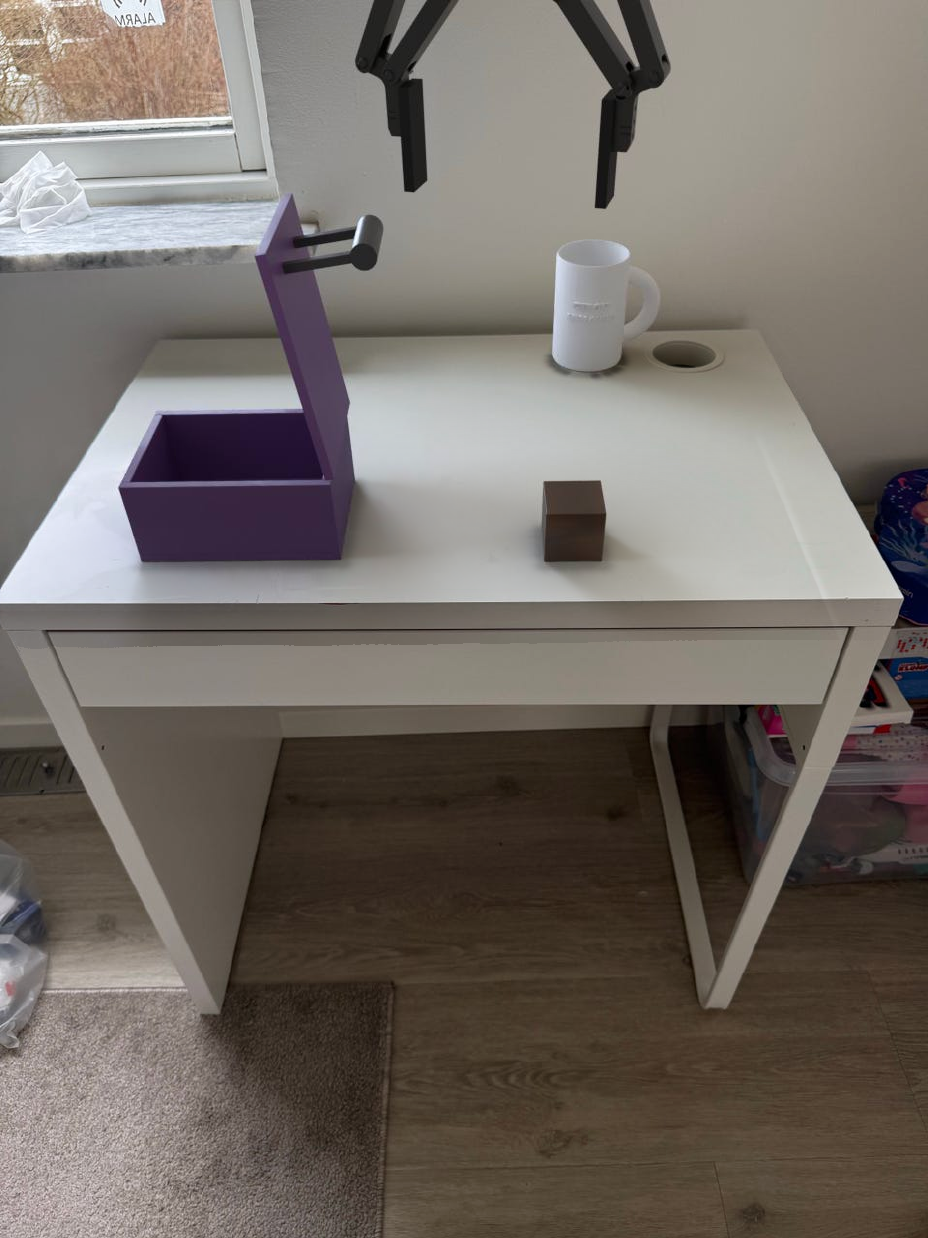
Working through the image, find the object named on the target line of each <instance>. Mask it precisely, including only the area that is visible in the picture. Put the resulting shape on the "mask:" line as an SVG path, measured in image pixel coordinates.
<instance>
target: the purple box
mask: <svg viewBox="0 0 928 1238" xmlns="http://www.w3.org/2000/svg"><path fill="white" fill-rule="evenodd" d="M352 452H353V451H352V443H351V434H350V426H349V418H348V416H347V420H346V425H345V430H344V435H343V440H342V444H341V449H340V454H339V459H338V464H337V469H336V474H335V479H334V480H326V481H325V478H324V475H323V472H322V469H321V466H320V463H319V459H318V456H317V453H316V450H315V447H314V444H313V440H312V437H311V434H310V431H309V428H308V425H307V421H306V418H305V415H304V412H303V409H302V408H262V409H261V408H257V409H255V408H253V409H194V410H193V409H192V410H190V409H189V410H188V409H186V410H184V409H183V410H181V409H180V410H156V412H155V413H154V416H153V418H152V420H151V422H150V424H149V426H148V428H147V429H146V431H145V433H144V435H143V438H142V440H141V441H140V443H139V445H138V447H137V449H136V451H135V453H134V455H133V457H132V459H131V462H130V463H129V465H128V467H127V469H126V472H125V473H124V475H123V476H122V479H121V480H120V481H121V482H120V483H119V485H118V487H117V489H118V492H119V495H120V499H121V501H122V502H121V503H122V505H123V508H124V511H125V514H126V517H127V520H128V522H129V526H130V529H131V533H132V537H133V539H134V542H135V545H136V548H137V551H138V554H139V558H140V560H141V562H217V561H218V562H219V561H220V562H223V561H226V562H230V561H231V562H232V561H234V562H235V561H314V560H316V561H317V560H322V561H323V560H324V561H325V560H327V561H328V560H333V561H334V560H341V559H342V555H343V550H344V545H345V538H346V532H347V528H348V527H347V525H348V520H349V515H350V509H351V503H352V498H353V493H354V487H355V483H356V482H355V481H356V477H355V468H354V460H353V453H352Z"/></svg>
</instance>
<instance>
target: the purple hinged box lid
mask: <svg viewBox="0 0 928 1238" xmlns="http://www.w3.org/2000/svg"><path fill="white" fill-rule="evenodd" d="M357 222H358V223H357V225H356V226H350V227H343V228H338V229H331V230H325V231H320V232H314V233H308V234H305V233H304V231H303V226H302V223H301V220H300V216H299V212H298V208H297V205H296V201H295V198H294V194H293V193H286V194H282V196H281V198H280V200H279V203H278V204H277V207H276V209H275V211H274V213H273V215H272V218H271V219H270V222H269V224H268V226H267V227H266V230H265V232H264V235H263V236H262V239H261V241H260V244H259V245H258V248H257V250H256V252H255V253H254V260H255V261H256V266H257V269H258V272H259V275H260V278H261V281H262V285H263V287H264V291H265V294H266V298H267V300H268V303H269V307H270V310H271V313H272V317H273V319H274V320H273V321H274V322H275V326H276V329H277V332H278V336H279V339H280V343H281V345H282V348H283V351H284V355H285V359H286V361H287V364H288V367H289V370H290V374H291V377H292V380H293V383H294V386H295V389H296V392H297V396H298V399H299V402H300V405H301V409H303V412H304V415H305V418H306V421H307V425H308V428H309V431H310V434H311V437H312V440H313V444H314V447H315V450H316V453H317V456H318V459H319V463H320V466H321V469H322V472H323V475H324V478H325V481H326V480H334V479H335V474H336V469H337V464H338V459H339V454H340V449H341V444H342V440H343V435H344V430H345V425H346V420H347V417H348V415H349V410H350V405H351V401H350V398H349V393H348V391H347V386H346V383H345V379H344V375H343V372H342V369H341V365H340V360H339V357H338V353H337V350H336V346H335V343H334V339H333V335H332V332H331V329H330V325H329V321H328V318H327V314H326V310H325V307H324V303H323V299H322V296H321V293H320V289H319V285H318V281H317V278H316V275H315V270H321V269H325V268H333V267H339V266H344V265H352V266H353V267H354V268H355V269H357V270H359V271H362V272H367V271H370V270H372V269H373V268H374V267H375V266H376V265H377V263H378V258H379V254H380V249H381V244H382V240H383V235H384V224H383V222H382V220H381V219H380V218H379V217H377V216H376V215H374V214H366V215H363V216H361V218H360V219H358V221H357ZM348 240H352V244H351V248H350V250H346V251H340V252H334V253H330V254H329V253H328V254H323V255H317V256H310V252H309V249H308V247H313V246H314V247H315V246H319V245H325V244H331V243H338V242H343V241H348Z"/></svg>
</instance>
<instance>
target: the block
mask: <svg viewBox="0 0 928 1238" xmlns="http://www.w3.org/2000/svg"><path fill="white" fill-rule="evenodd" d="M604 496H605V495H604V491H603V485H602V480H600V479H599V480H598V479H595V480H592V479H591V480H543V482H542V507H541V537H542V538H541V539H542V549H543V550H542V551H543V561H544V562H601V561H603V554H604V545H605V535H606V524H607V508H606V501H605V497H604Z"/></svg>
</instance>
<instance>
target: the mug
mask: <svg viewBox="0 0 928 1238" xmlns="http://www.w3.org/2000/svg"><path fill="white" fill-rule="evenodd" d="M555 259H556V261H555V282H554V302H553V303H554V308H553V309H554V310H553V329H552V350H551V354H552V357H553V359H554V361H555V362H556V364H558V365H559V366H561V367H563V368H565V369H568V370H571V371H576V372H582V373H583V372H585V373H586V372H587V373H591V372H601V371H606V370H609V369H611V368H612V367H613V368H614V367H615V366H616V365H617V364H618V363H619V362H620V361H621V359H622V353H623V343H626V342H629V341H632V340H634V339H636V338H639V336H642V335H643V334H644V333H646V331H648V330H649V329H650V328H651V326H652V325H653V323H654V322H655V320H656V319H657V317H658V314H659V311H660V307H661V292H660V287H659V285H658V283H657V282H656V280H655V279H654V278H653V276H652V275H651V274H650V273H648V272H647V271H645V270H643V269H642V268H639V267H637V266H633V265H631V260H632V254H631V251H630V250H629V249H628V248H627V247H626V246H624V245H622V244H621V243H618V242H615V241H610V240H606V239H580V240H579V239H578V240H575V241H574V240H573V241H570V242H568V243H565V244H563V245H561V246H560V247H559V249H558V250H557V252H556V257H555ZM629 284H630V285H633V286H635V287H636V288H637V289H638V290H639V291H640V293H641V294H642V297H643V298H642V299H643V304H642V306H641V307H642V308H641V310H640V311H639V313H638V314H637V316H636V317H635V318H634V319H632V320H631V321H630V322H628V323H625V322H626V312H627V302H628V291H629V290H628V289H629Z"/></svg>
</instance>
